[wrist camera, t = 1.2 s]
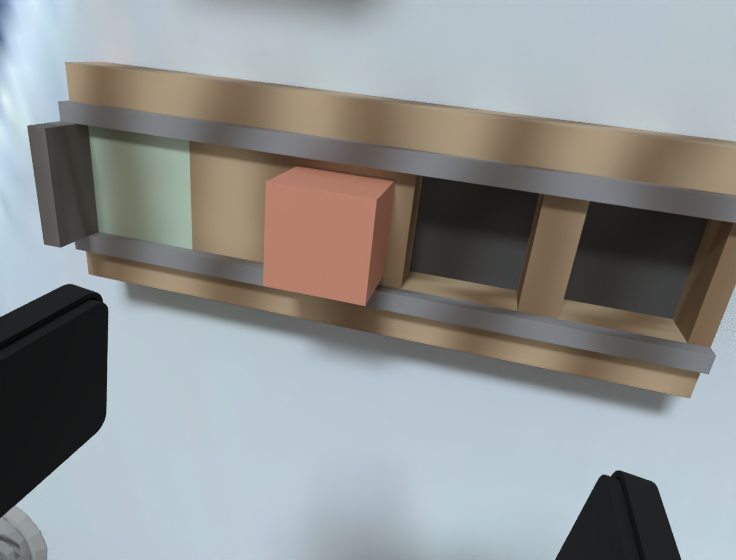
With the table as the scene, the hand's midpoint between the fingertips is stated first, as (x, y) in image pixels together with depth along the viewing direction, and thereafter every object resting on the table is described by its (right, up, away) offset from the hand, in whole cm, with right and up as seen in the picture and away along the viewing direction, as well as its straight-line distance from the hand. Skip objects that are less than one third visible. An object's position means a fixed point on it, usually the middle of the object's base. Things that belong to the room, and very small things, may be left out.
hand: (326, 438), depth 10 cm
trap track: (+2, +7, +20) cm, 22 cm away
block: (-1, +6, +18) cm, 19 cm away
